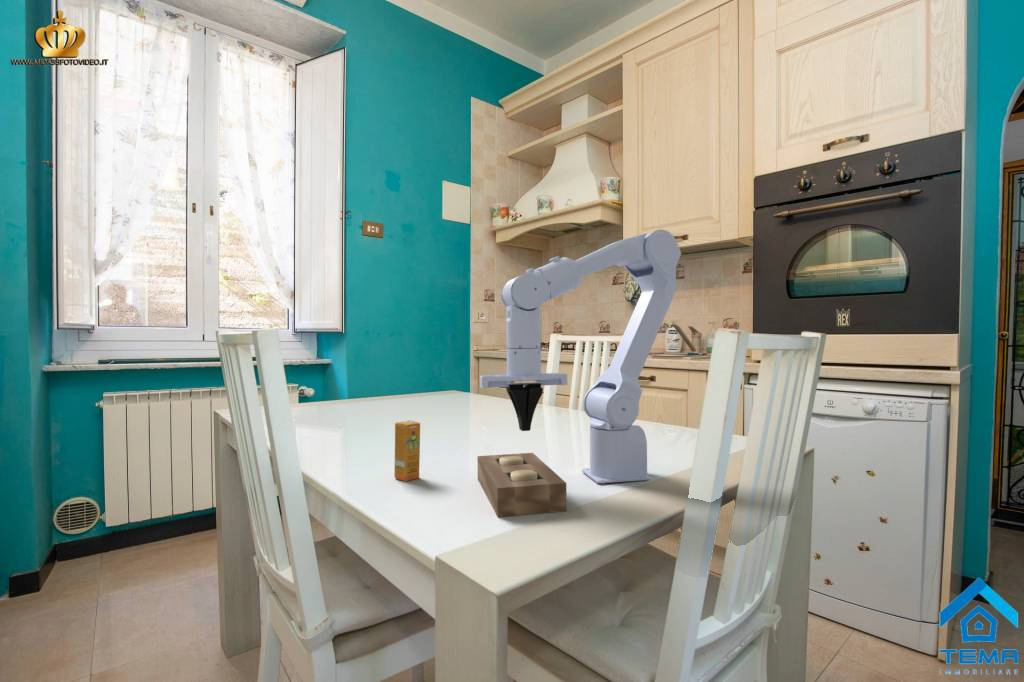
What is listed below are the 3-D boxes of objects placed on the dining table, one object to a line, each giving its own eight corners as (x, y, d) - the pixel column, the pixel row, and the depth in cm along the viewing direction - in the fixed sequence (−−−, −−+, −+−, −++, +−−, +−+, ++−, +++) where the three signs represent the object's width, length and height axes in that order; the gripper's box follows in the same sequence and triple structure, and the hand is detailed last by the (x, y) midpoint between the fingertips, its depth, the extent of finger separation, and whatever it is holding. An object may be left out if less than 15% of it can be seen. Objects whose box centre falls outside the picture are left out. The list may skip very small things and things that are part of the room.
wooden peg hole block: (532, 474, 90) (532, 452, 90) (566, 510, 71) (566, 482, 71) (477, 478, 88) (477, 456, 88) (497, 517, 69) (497, 488, 69)
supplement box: (406, 482, 86) (405, 424, 86) (393, 478, 89) (393, 422, 88) (421, 477, 89) (420, 421, 89) (409, 474, 91) (408, 419, 91)
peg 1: (520, 478, 86) (520, 455, 86) (526, 484, 82) (525, 461, 82) (497, 479, 85) (497, 456, 85) (502, 486, 82) (501, 462, 82)
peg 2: (533, 494, 78) (533, 469, 77) (540, 502, 74) (540, 476, 74) (508, 496, 77) (508, 470, 77) (514, 504, 73) (513, 477, 73)
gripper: (484, 349, 78) (486, 437, 78) (573, 347, 81) (574, 431, 81) (477, 348, 84) (478, 428, 85) (559, 346, 88) (560, 424, 88)
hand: (524, 429), depth 83 cm, fingers closed
